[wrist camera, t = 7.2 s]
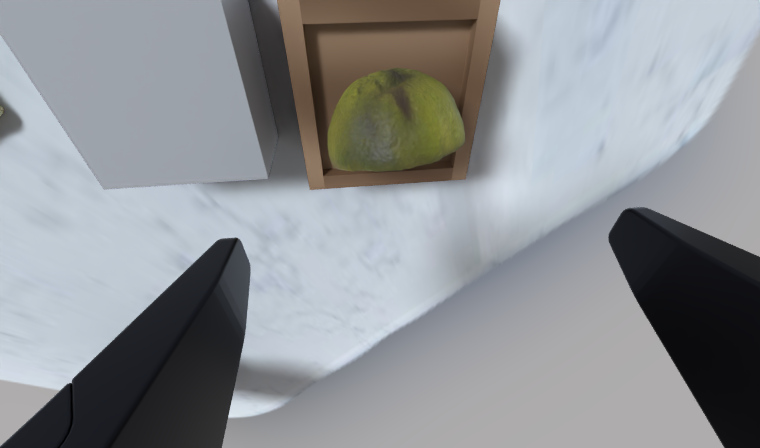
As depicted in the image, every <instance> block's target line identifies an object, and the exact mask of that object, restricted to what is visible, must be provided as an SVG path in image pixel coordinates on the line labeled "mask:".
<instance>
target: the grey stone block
mask: <svg viewBox="0 0 760 448" xmlns="http://www.w3.org/2000/svg"><path fill="white" fill-rule="evenodd" d="M0 35H1V36H2V38H3V39H4V41H5V42H6V44H7V45H8V47H9V48H10V50H11V51H12V53H13V54H14V56H15V57H16V59H17V60H18V62H19V63H20V65H21V66H22V68H23V69H24V71H25V72H26V74H27V75H28V77H29V78H30V80H31V81H32V83H33V84H34V86H35V87H36V89H37V90H38V92H39V93H40V95H41V96H42V98H43V99H44V101H45V102H46V104H47V105H48V107H49V108H50V110H51V111H52V113H53V114H54V116H55V117H56V119H57V120H58V122H59V123H60V125H61V126H62V128H63V129H64V131H65V132H66V134H67V135H68V137H69V138H70V140H71V141H72V143H73V144H74V145H75V147H76V148H77V150H78V151H79V153H80V154H81V156H82V157H83V159H84V160H85V162H86V163H87V165H88V166H89V168H90V169H91V171H92V172H93V174H94V175H95V177H96V178H97V180H98V181H99V183H100V184H101V186H102V187H103V189H118V188H134V187H149V186H165V185H180V184H196V183H211V182H227V181H242V180H258V179H268V178H269V174H270V170H271V166H272V162H273V157H274V153H275V149H276V145H277V141H278V133H277V129H276V124H275V120H274V115H273V111H272V106H271V102H270V97H269V93H268V88H267V84H266V79H265V75H264V70H263V66H262V61H261V57H260V52H259V48H258V43H257V38H256V34H255V29H254V25H253V20H252V16H251V11H250V7H249V2H248V0H0Z"/></svg>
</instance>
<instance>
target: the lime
mask: <svg viewBox="0 0 760 448" xmlns="http://www.w3.org/2000/svg"><path fill="white" fill-rule="evenodd" d="M464 143H465V132H464V125H463V121H462V118H461V115H460V113H459V110H458V108H457V106H456V103H455V100H454V98H453V96H452V95H451V93H450V92H449V90H448V89H447V88H446V86H444V85H443V84H442V83H441V82H439V81H438V80H436V79H434V78H433V77H431V76H429V75H427V74H424V73H422V72H420V71H418V70H412V69H406V68H393V69H388V70H380V71H377V72H375V73H371V74H369V75H368V76H365V77H362V78H359V79H357V80H356V81H354V82H353V83H352V84H351V85H350V86H349V87H348V88H347V89H346V90H345V91H344V93H343V94H342V96H341V98H340V100H339V102H338V104H337V106H336V108H335V110H334V113H333V116H332V118H331V122H330V126H329V129H328V152H329V157H330V160H331V163H332V165H333V168H337V169H339V170H346V171H353V172H355V171H361V170H362V171H374V172H383V171H401V170H403V169H411V168H414V167H417V166H422V165H425V164H432V163H434V162H436V161H439V160H441V159H442V158H443V157H446V156H447V155H449V154H450V153H453V152H455V151H456V150H458V149H459V148H460V147H462V146H463V144H464Z"/></svg>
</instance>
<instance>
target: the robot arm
mask: <svg viewBox="0 0 760 448" xmlns="http://www.w3.org/2000/svg"><path fill="white" fill-rule="evenodd" d="M609 243H610V245H611V247H612V250H613V252H614V254H615V256H616V258H617V260H618V262H619V265H620V267H621V269H622V271H623V273H624V275H625V278H626V280H627V282H628V284H629V286H630V288H631V290H632V292H633V294H634V296H635V298H636V300H637V302H638V303H639V305H640V307H641V308H642V310H643V312H644V314H645V315H646V317H647V319H648V320H649V322H650V324H651V325H652V327H653V329H654V330H655V332H656V334H657V335H658V337H659V339H660V340H661V342H662V344H663V345H664V347H665V349H666V351H667V352H668V354H669V356H670V357H671V359H672V361H673V362H674V364H675V366H676V367H677V369H678V370H679V372H680V374H681V376H682V377H683V379H684V381H685V382H686V384H687V386H688V387H689V389H690V391H691V392H692V394H693V396H694V398H695V399H696V401H697V402H698V404H699V406H700V407H701V409H702V411H703V413H704V414H705V416H706V417H707V419H708V421H709V423H710V424H711V426H712V428H713V429H714V431H715V433H716V434H717V436H718V438H719V439H720V441H721V443H722V445H723V446H724V448H760V257H759V256H756V255H754V254H752V253H749V252H747V251H745V250H743V249H740V248H738V247H736V246H733V245H731V244H729V243H726V242H724V241H722V240H720V239H717V238H715V237H713V236H710V235H708V234H706V233H704V232H701V231H699V230H697V229H694V228H692V227H690V226H687V225H685V224H683V223H680V222H678V221H676V220H674V219H671V218H669V217H667V216H664V215H662V214H660V213H657V212H655V211H653V210H651V209H648V208H644V207H637V208H628V209H625V210H624V211H623V212H622V213H621V215H620V216H619V218H618V219H617V221H616V223H615V224H614V226H613V228H612V230H611V231H610V233H609ZM249 284H250V263H249V260H248V258H247V255H246V252H245V250H244V247H243V245H242V242H241V241H240V239H238V238H225V239H219V240H218V241H216V242H215V243H214V244H213V245H212V246H211V247H210V248H209V249H208V250H207V251H206V252H205V253H204V254H203V255H202V256H201V257H200V258H199V259H198V260H196V261H195V262H194V263H193V264H192V265H191V266H190V267H189V268H188V269H187V270H186V271H185V272H184V273H183V274H182V275H181V276H180V277H179V278H178V279H177V280H176V281H175V282H173V283H172V284H171V285H170V286H169V287H168V288H167V289H166V290H165V291H164V292H163V293H162V294H161V295H160V296H159V297H158V298H157V299H156V300H155V301H154V302H153V303H152V304H150V305H149V306H148V307H147V308H146V309H145V310H144V311H143V312H142V313H141V314H140V315H139V316H138V317H137V318H136V319H135V320H134V321H133V322H132V323H131V324H130V325H129V326H127V327H126V328H125V329H124V330H123V331H122V332H121V333H120V334H119V335H118V336H117V337H116V338H115V339H114V340H113V341H112V342H111V343H110V344H109V345H108V346H107V347H106V348H105V349H103V350H102V351H101V352H100V353H99V354H98V355H97V356H96V357H95V358H94V359H93V360H92V361H91V362H90V363H89V364H88V365H87V366H86V367H85V368H84V369H83V370H82V371H80V372H79V373H78V374H77V375H76V376H75V377H74V378H73V380H72V383H69V384H67V385H66V386H65V387H64V388H62V389H61V390H60V391H59V392H58V393H57V394H56V395H55V396H54V397H53V398H52V399H51V400H50V401H49V402H48V403H47V404H46V405H45V406H44V407H43V408H41V409H40V410H39V411H38V412H37V413H36V414H35V415H34V416H33V417H32V418H31V419H30V420H28V421H27V422H26V424H24V425H23V426H22V427H21V428H20V429H19V430H18V431H17V432H16V433H15V434H13V435H12V436H11V437H10V438H9V439H8V440H7V441H6V442H5V443H3V444H2V445H1V446H0V448H222V444H223V439H224V434H225V429H226V424H227V419H228V415H229V410H230V405H231V400H232V396H233V391H234V386H235V381H236V376H237V372H238V367H239V362H240V357H241V353H242V348H243V343H244V337H245V330H246V319H247V308H248V296H249Z"/></svg>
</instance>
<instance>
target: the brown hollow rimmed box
mask: <svg viewBox="0 0 760 448" xmlns="http://www.w3.org/2000/svg"><path fill="white" fill-rule="evenodd" d="M277 3H278V9H279V14H280V20H281V26H282V32H283V38H284V43H285V49H286V55H287V61H288V66H289V72H290V78H291V84H292V89H293V95H294V101H295V107H296V112H297V118H298V124H299V130H300V135H301V141H302V147H303V153H304V159H305V164H306V170H307V176H308V182H309V187H310V190H314V189H329V188H343V187H358V186H373V185H388V184H403V183H418V182H432V181H447V180H462V179H466V174H467V169H468V164H469V159H470V154H471V149H472V144H473V139H474V133H475V128H476V123H477V118H478V113H479V108H480V103H481V98H482V92H483V87H484V82H485V77H486V72H487V67H488V62H489V56H490V51H491V46H492V41H493V36H494V31H495V26H496V21H497V15H498V10H499V5H500V0H277ZM393 68H406V69H412V70H418V71H420V72H422V73H424V74H427V75H429V76H431V77H433V78H434V79H436V80H438V81H439V82H441V83H442V84H443V85H444V86H446V88H447V89H448V90H449V92H450V93H451V95H452V96H453V98H454V100H455V103H456V106H457V108H458V110H459V113H460V115H461V118H462V121H463V125H464V132H465V143H464V144H463V146H462V147H460V148H459V149H458V150H456V151H455V152H453V153H450V154H449V155H447V156H446V157H443V158H442V159H441V160H439V161H436V162H434V163H432V164H425V165H422V166H417V167H414V168H411V169H403V170H401V171H383V172H374V171H362V170H361V171H355V172H353V171H346V170H339V169H337V168H333V165H332V163H331V160H330V157H329V152H328V129H329V126H330V122H331V118H332V116H333V113H334V110H335V108H336V106H337V104H338V102H339V100H340V98H341V96H342V94H343V93H344V91H345V90H346V89H347V88H348V87H349V86H350V85H351V84H352V83H353V82H354V81H356V80H357V79H359V78H362V77H365V76H368V75H369V74H371V73H375V72H377V71H380V70H388V69H393Z"/></svg>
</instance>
